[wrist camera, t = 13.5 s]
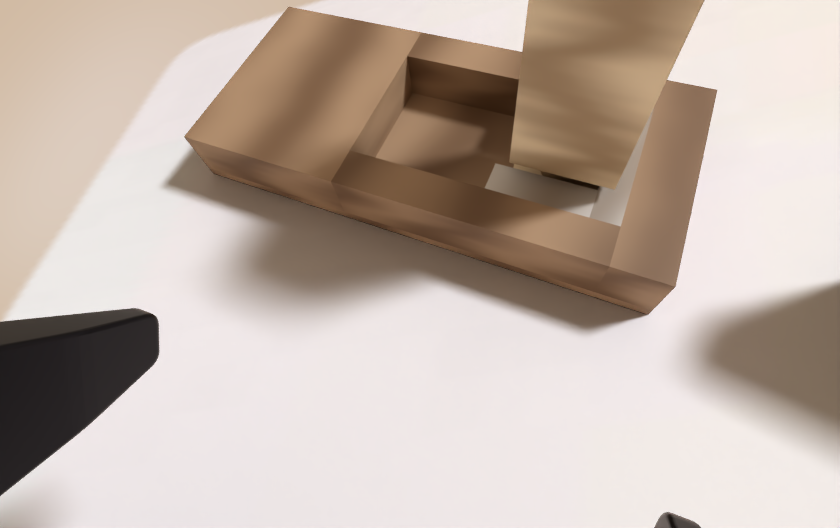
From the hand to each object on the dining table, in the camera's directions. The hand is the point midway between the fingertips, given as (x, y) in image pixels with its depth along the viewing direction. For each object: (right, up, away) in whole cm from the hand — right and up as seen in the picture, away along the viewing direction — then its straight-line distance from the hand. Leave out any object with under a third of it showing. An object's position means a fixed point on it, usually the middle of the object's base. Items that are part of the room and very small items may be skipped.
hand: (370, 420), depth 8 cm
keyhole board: (+2, +9, +18) cm, 20 cm away
